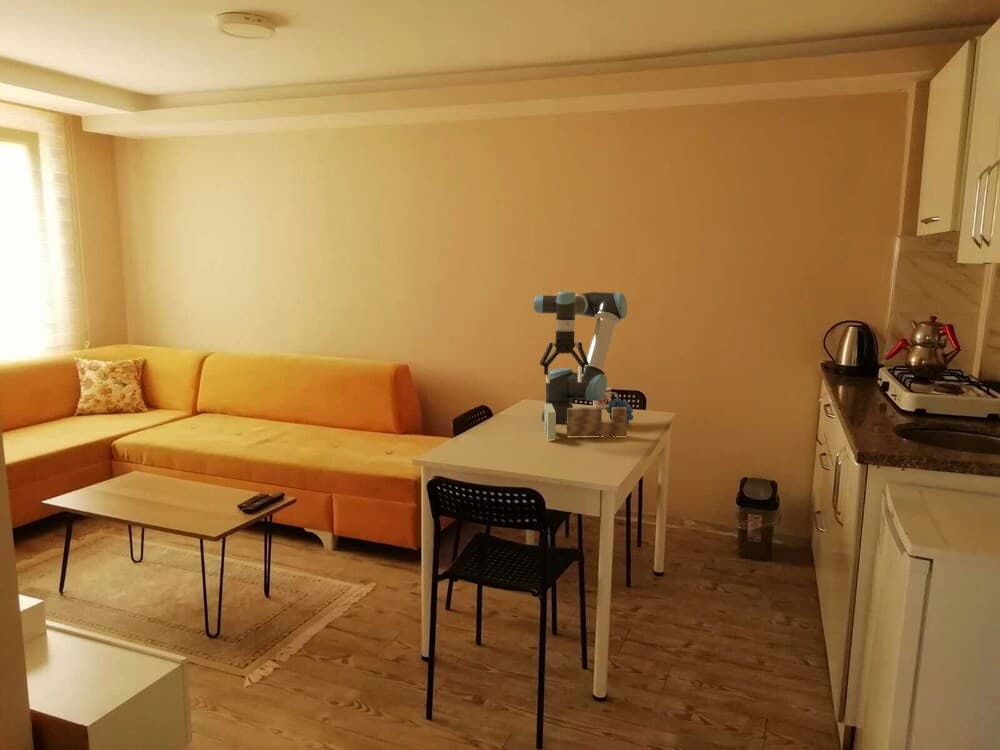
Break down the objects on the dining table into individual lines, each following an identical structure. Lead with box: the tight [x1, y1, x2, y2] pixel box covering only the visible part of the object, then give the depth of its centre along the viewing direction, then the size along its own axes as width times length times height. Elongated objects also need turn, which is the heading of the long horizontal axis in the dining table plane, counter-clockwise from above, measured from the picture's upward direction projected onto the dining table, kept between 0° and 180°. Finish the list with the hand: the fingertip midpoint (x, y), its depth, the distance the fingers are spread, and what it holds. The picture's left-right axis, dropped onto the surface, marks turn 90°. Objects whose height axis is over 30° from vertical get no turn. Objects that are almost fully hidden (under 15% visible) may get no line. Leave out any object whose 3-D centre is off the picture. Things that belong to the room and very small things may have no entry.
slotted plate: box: [543, 403, 557, 439], centre depth 298 cm, size 16×3×12 cm, turn 2°
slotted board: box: [566, 407, 628, 437], centre depth 296 cm, size 24×3×12 cm, turn 92°
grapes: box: [606, 397, 634, 426], centre depth 315 cm, size 12×7×12 cm, turn 71°
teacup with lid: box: [592, 386, 619, 409], centre depth 351 cm, size 12×9×12 cm
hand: (563, 382), depth 295 cm, fingers open, 13 cm apart
